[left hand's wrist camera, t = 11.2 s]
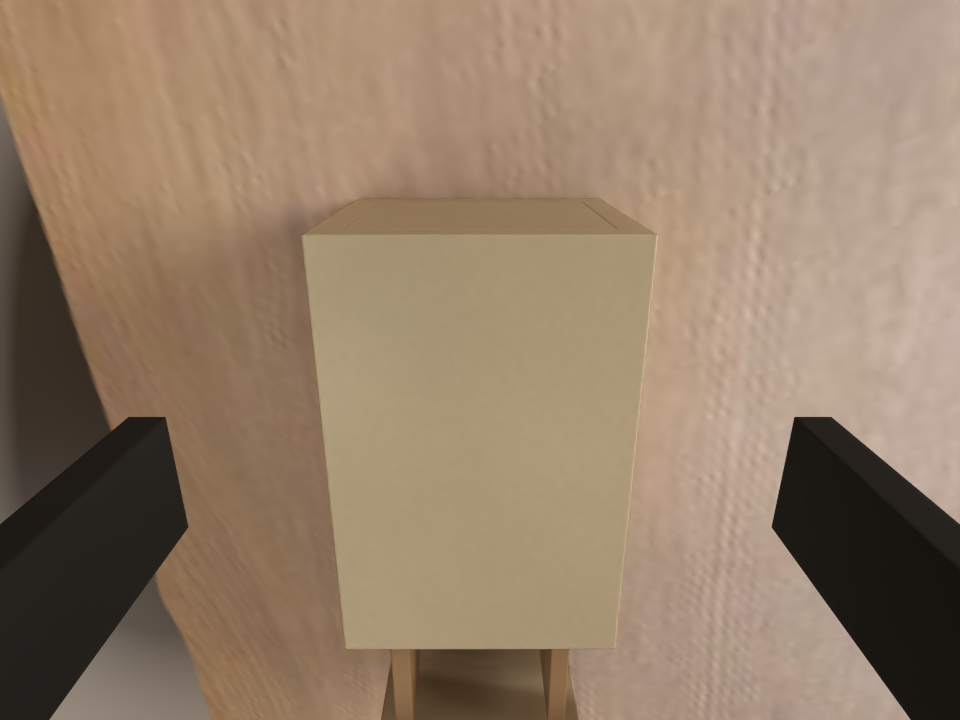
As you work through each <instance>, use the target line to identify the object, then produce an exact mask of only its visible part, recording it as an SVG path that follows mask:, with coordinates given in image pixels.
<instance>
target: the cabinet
mask: <svg viewBox="0 0 960 720" xmlns="http://www.w3.org/2000/svg"><path fill="white" fill-rule="evenodd" d="M301 239H302V248H303V257H304V267H305V276H306V285H307V295H308V304H309V314H310V323H311V332H312V342H313V351H314V360H315V370H316V379H317V389H318V398H319V407H320V417H321V426H322V435H323V445H324V454H325V464H326V473H327V482H328V492H329V501H330V510H331V520H332V529H333V539H334V548H335V557H336V567H337V576H338V585H339V595H340V604H341V614H342V623H343V632H344V642H345V648H346V649H614V648H615V643H616V633H617V623H618V614H619V604H620V595H621V585H622V576H623V566H624V556H625V547H626V537H627V528H628V518H629V509H630V499H631V490H632V480H633V470H634V461H635V451H636V442H637V432H638V423H639V413H640V403H641V394H642V384H643V375H644V365H645V356H646V346H647V336H648V327H649V317H650V308H651V298H652V289H653V279H654V270H655V260H656V250H657V241H658V235H657V234H656V233H654V232H653V231H651V230H649V229H648V228H646V227H645V226H643V225H641V224H640V223H638V222H637V221H635V220H633V219H632V218H630V217H629V216H627V215H625V214H624V213H622V212H621V211H619V210H618V209H616V208H614V207H613V206H611V205H610V204H608V203H606V202H605V201H603V200H602V199H358V200H356V201H355V202H353V203H351V204H349V205H348V206H346V207H345V208H343V209H341V210H340V211H338V212H337V213H335V214H333V215H332V216H330V217H329V218H327V219H325V220H324V221H322V222H321V223H319V224H317V225H316V226H314V227H313V228H311V229H310V230H309V231H307V232H305V233H304V234H302V236H301Z"/></svg>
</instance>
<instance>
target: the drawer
mask: <svg viewBox="0 0 960 720" xmlns="http://www.w3.org/2000/svg"><path fill="white" fill-rule="evenodd" d="M381 720H579V716H578V709H577V703H576V697H575V691H574V685H573V679H572V673H571V667H570V661H569V649H391V663H390V669H389V675H388V681H387V687H386V693H385V699H384V705H383V712H382V718H381Z"/></svg>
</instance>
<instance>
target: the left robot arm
mask: <svg viewBox="0 0 960 720" xmlns="http://www.w3.org/2000/svg"><path fill="white" fill-rule="evenodd" d="M187 528H188V523H187V518H186V514H185V509H184V504H183V499H182V494H181V490H180V485H179V480H178V475H177V470H176V466H175V461H174V456H173V451H172V446H171V441H170V437H169V432H168V427H167V422H166V417H128V418H127V419H126V420H125V421H123V422H122V423H121V424H120V425H119V426H117V427H116V428H115V429H114V430H113V431H111V432H110V433H109V434H108V435H107V436H106V437H104V438H103V439H102V440H101V441H99V442H98V443H97V444H96V445H95V446H93V447H92V448H91V449H90V450H89V451H88V452H86V453H85V454H84V455H83V456H82V457H80V458H79V459H78V460H77V461H76V462H74V463H73V464H72V465H71V466H70V467H68V468H67V469H66V470H65V471H64V472H62V473H61V474H60V475H59V476H58V477H56V478H55V479H54V480H53V481H52V482H50V483H49V484H48V485H47V486H46V487H44V488H43V489H42V490H41V491H40V492H39V493H37V494H36V495H35V496H34V497H32V498H31V499H30V500H29V501H28V502H27V503H25V504H24V505H23V506H22V507H21V508H19V509H18V510H17V511H16V512H15V513H13V514H12V515H11V516H10V517H9V518H7V519H6V520H5V521H4V522H3V523H1V524H0V720H49V719H50V718H51V716H52V715H53V714H54V712H55V711H56V710H57V708H58V707H59V705H60V704H61V703H62V701H63V700H64V698H65V697H66V696H67V694H68V693H69V692H70V690H71V689H72V687H73V686H74V685H75V683H76V682H77V680H78V679H79V678H80V676H81V675H82V674H83V672H84V671H85V669H86V668H87V667H88V665H89V664H90V662H91V661H92V660H93V658H94V657H95V656H96V654H97V653H98V651H99V650H100V649H101V647H102V646H103V644H104V643H105V642H106V640H107V639H108V638H109V636H110V635H111V633H112V632H113V631H114V629H115V628H116V626H117V625H118V624H119V622H120V621H121V620H122V618H123V617H124V615H125V614H126V613H127V611H128V610H129V609H130V607H131V606H132V604H133V603H134V602H135V600H136V599H137V597H138V596H139V595H140V593H141V592H142V591H143V589H144V588H145V586H146V585H147V584H148V582H149V581H150V579H151V578H152V577H153V575H154V574H155V573H156V571H157V570H158V568H159V567H160V566H161V564H162V563H163V561H164V560H165V559H166V557H167V556H168V555H169V553H170V552H171V550H172V549H173V548H174V546H175V545H176V544H177V542H178V541H179V539H180V538H181V537H182V535H183V534H184V532H185V531H186V530H187ZM772 528H773V530H774V531H775V532H776V534H777V535H778V537H779V538H780V539H781V541H782V542H783V544H784V545H785V546H786V548H787V549H788V550H789V552H790V553H791V555H792V556H793V557H794V559H795V560H796V561H797V563H798V564H799V566H800V567H801V568H802V570H803V571H804V573H805V574H806V575H807V577H808V578H809V579H810V581H811V582H812V584H813V585H814V586H815V588H816V589H817V591H818V592H819V593H820V595H821V596H822V597H823V599H824V600H825V602H826V603H827V604H828V606H829V607H830V609H831V610H832V611H833V613H834V614H835V615H836V617H837V618H838V620H839V621H840V622H841V624H842V625H843V627H844V628H845V629H846V631H847V632H848V633H849V635H850V636H851V638H852V639H853V640H854V642H855V643H856V645H857V646H858V647H859V649H860V650H861V651H862V653H863V654H864V656H865V657H866V658H867V660H868V661H869V662H870V664H871V665H872V667H873V668H874V669H875V671H876V672H877V674H878V675H879V676H880V678H881V679H882V680H883V682H884V683H885V685H886V686H887V687H888V689H889V690H890V692H891V693H892V694H893V696H894V697H895V698H896V700H897V701H898V703H899V704H900V705H901V707H902V708H903V710H904V711H905V712H906V714H907V715H908V716H909V718H910V719H911V720H960V524H959V523H957V522H956V521H955V520H954V519H953V518H951V517H950V516H949V515H948V514H947V513H946V512H944V511H943V510H942V509H941V508H940V507H938V506H937V505H936V504H935V503H934V502H932V501H931V500H930V499H929V498H928V497H926V496H925V495H924V494H923V493H922V492H920V491H919V490H918V489H917V488H916V487H914V486H913V485H912V484H911V483H910V482H908V481H907V480H906V479H905V478H904V477H902V476H901V475H900V474H899V473H898V472H896V471H895V470H894V469H893V468H892V467H890V466H889V465H888V464H887V463H886V462H884V461H883V460H882V459H881V458H880V457H878V456H877V455H876V454H875V453H874V452H872V451H871V450H870V449H869V448H868V447H867V446H865V445H864V444H863V443H862V442H861V441H859V440H858V439H857V438H856V437H855V436H853V435H852V434H851V433H850V432H849V431H847V430H846V429H845V428H844V427H843V426H841V425H840V424H839V423H838V422H837V421H835V420H834V419H833V418H832V417H794V422H793V427H792V432H791V437H790V441H789V446H788V451H787V456H786V461H785V466H784V470H783V475H782V480H781V485H780V490H779V494H778V499H777V504H776V509H775V514H774V518H773V523H772Z"/></svg>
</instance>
